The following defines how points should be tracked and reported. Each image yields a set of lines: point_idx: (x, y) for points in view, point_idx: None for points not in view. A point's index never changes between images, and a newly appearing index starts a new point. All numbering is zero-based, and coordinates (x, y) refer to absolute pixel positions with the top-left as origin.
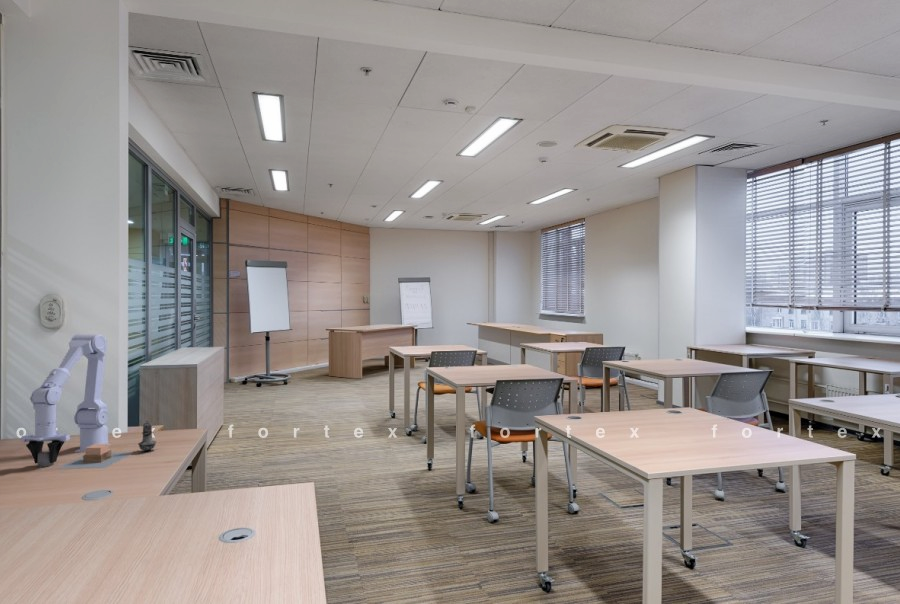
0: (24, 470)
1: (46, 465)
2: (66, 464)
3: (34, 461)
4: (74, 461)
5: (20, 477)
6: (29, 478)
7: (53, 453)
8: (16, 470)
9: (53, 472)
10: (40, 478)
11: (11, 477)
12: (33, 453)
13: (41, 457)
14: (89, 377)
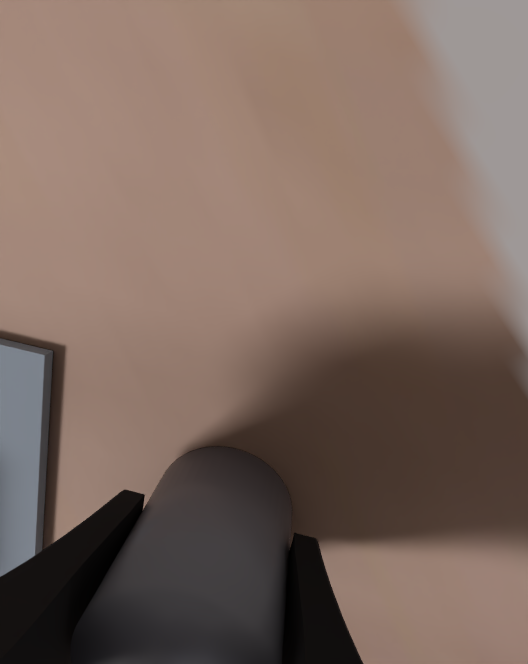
0: (387, 439)
1: (180, 467)
2: (26, 481)
3: (320, 555)
4: (7, 555)
5: (311, 144)
6: (175, 60)
7: (18, 568)
8: (477, 467)
9: (28, 259)
10: (38, 21)
11: (426, 177)
12: (328, 654)
13: (200, 543)
14: None
